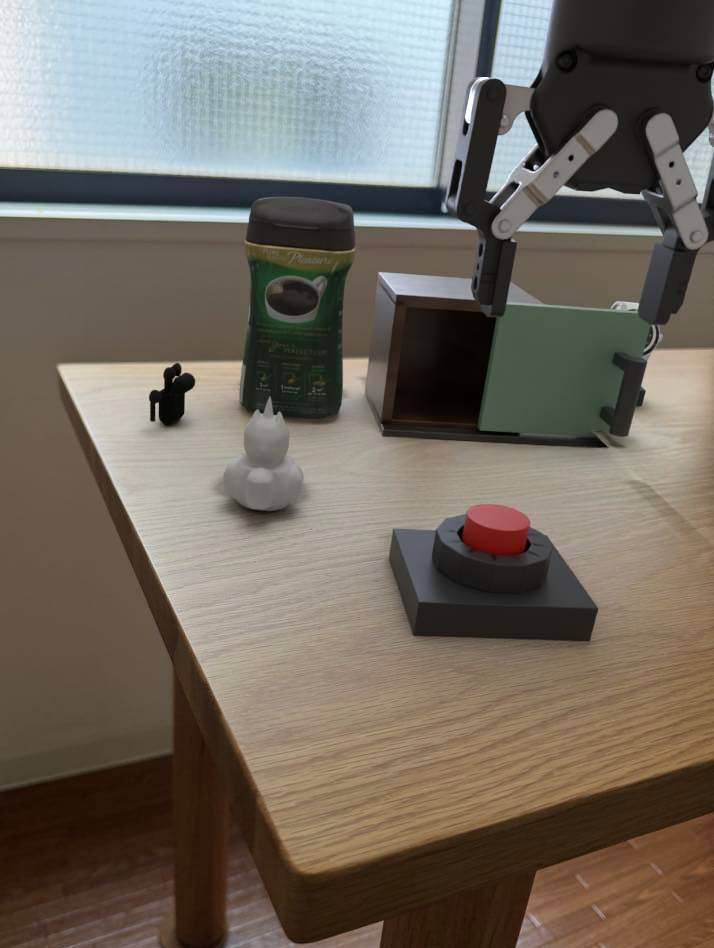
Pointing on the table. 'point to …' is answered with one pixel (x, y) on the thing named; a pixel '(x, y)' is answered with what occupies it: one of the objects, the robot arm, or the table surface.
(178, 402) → the wireless earbuds
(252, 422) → the white toy figurine
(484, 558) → the button box
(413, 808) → the table surface
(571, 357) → the sliding door
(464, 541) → the button
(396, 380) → the cabinet
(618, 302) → the watch
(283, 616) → the table surface
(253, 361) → the coffee jar
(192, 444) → the table surface
